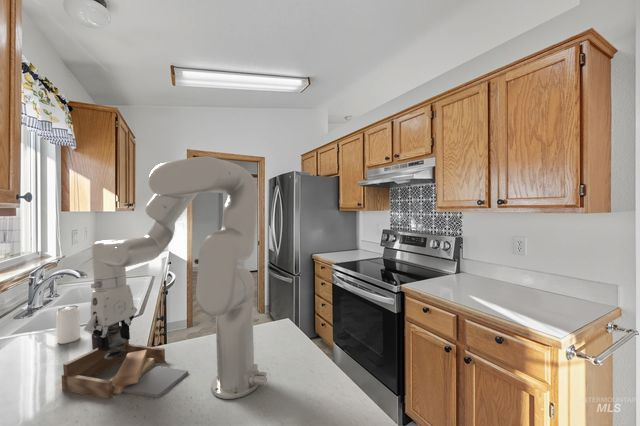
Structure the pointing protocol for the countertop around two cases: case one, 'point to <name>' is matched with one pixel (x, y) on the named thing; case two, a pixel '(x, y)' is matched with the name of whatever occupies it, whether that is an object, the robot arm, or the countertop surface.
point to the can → (68, 324)
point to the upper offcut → (131, 368)
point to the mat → (156, 381)
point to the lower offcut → (148, 364)
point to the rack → (99, 370)
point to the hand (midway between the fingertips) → (114, 343)
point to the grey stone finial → (115, 342)
